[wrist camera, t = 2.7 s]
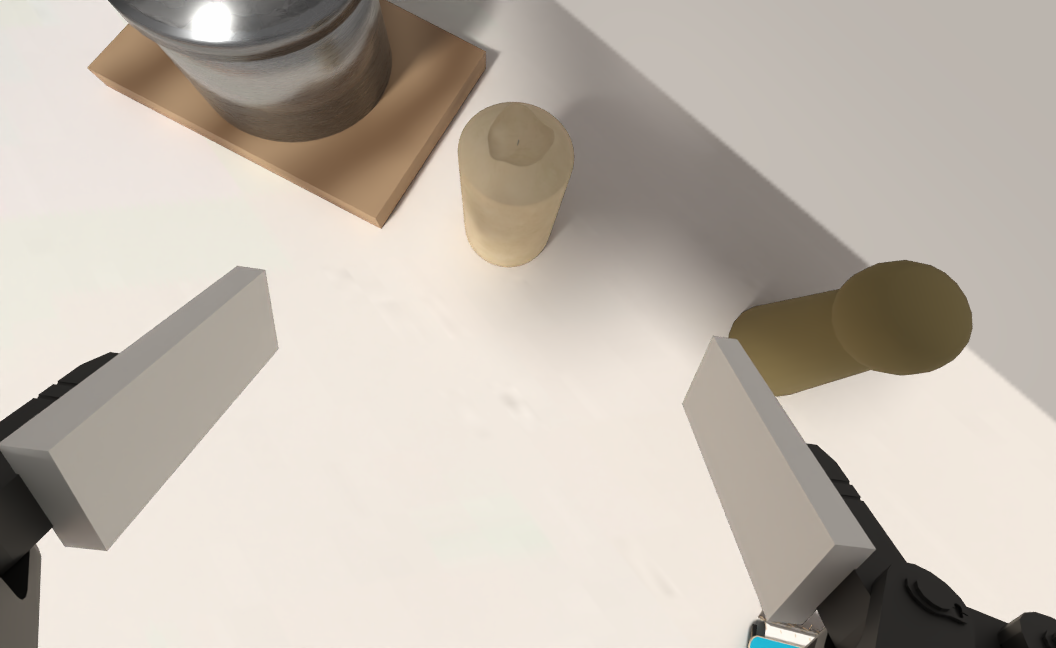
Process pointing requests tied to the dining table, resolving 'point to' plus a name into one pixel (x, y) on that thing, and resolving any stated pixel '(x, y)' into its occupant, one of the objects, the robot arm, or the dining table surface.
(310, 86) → the round metal tin
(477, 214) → the candle
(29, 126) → the dining table surface
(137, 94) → the wooden board
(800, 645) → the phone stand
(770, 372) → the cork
